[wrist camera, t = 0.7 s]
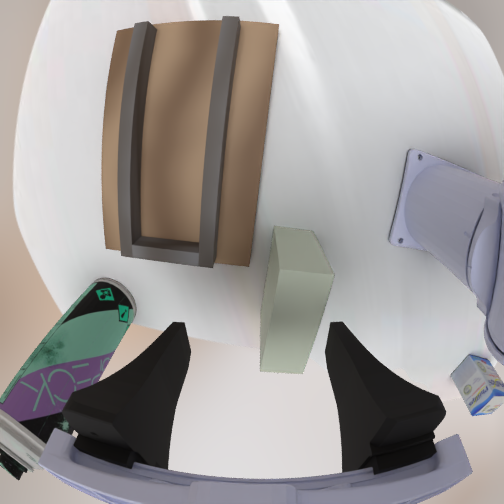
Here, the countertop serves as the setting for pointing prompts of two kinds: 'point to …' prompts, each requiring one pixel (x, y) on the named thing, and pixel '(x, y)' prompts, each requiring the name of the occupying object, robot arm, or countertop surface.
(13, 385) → the spray can
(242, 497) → the robot arm
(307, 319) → the pale green block
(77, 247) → the countertop surface
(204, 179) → the door track
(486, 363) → the medicine box
